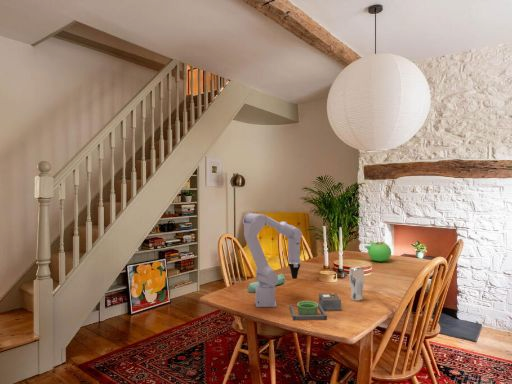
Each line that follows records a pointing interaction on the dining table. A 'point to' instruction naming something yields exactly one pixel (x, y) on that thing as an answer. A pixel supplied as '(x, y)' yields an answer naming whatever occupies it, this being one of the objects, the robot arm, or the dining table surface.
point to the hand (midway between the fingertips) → (294, 278)
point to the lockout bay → (309, 317)
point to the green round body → (379, 251)
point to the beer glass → (356, 283)
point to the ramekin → (307, 308)
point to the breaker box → (330, 301)
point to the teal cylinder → (253, 285)
